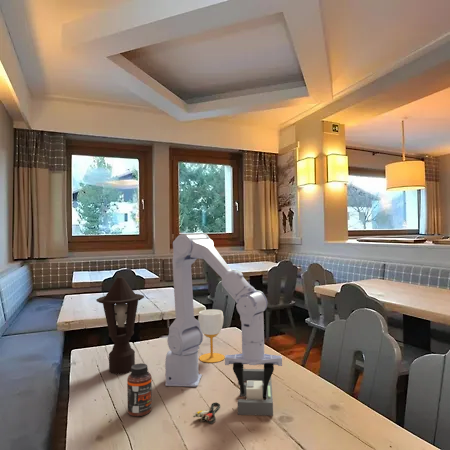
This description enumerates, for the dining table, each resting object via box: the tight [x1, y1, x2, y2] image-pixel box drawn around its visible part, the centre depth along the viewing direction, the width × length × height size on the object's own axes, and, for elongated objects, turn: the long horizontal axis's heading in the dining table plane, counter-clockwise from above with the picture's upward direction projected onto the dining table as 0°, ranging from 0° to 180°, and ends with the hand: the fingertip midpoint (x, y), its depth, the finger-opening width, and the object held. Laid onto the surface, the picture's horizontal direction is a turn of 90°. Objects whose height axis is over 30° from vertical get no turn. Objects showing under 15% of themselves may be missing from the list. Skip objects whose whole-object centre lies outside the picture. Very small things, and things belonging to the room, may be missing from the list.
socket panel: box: [237, 368, 274, 416], centre depth 97 cm, size 8×20×3 cm, turn 174°
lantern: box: [95, 276, 145, 375], centre depth 117 cm, size 15×15×30 cm
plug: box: [245, 381, 264, 400], centre depth 92 cm, size 4×5×5 cm
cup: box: [197, 308, 225, 364], centre depth 125 cm, size 9×9×16 cm
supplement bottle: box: [126, 362, 153, 417], centre depth 90 cm, size 6×6×11 cm
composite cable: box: [192, 402, 221, 425], centre depth 87 cm, size 10×5×2 cm, turn 151°
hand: (254, 392), depth 92 cm, fingers open, 5 cm apart
